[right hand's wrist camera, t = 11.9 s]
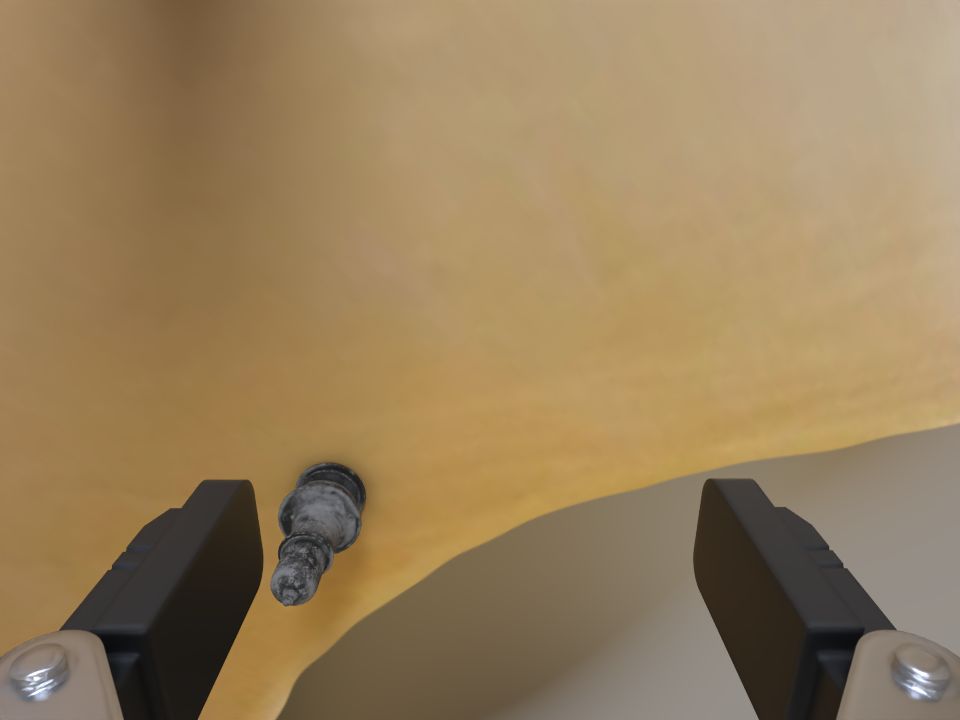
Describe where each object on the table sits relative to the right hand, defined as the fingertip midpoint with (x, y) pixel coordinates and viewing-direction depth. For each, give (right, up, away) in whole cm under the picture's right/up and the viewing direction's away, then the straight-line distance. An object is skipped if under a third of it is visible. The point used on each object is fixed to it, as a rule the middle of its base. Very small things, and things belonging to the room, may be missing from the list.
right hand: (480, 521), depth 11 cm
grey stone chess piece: (-11, -7, +37) cm, 40 cm away
